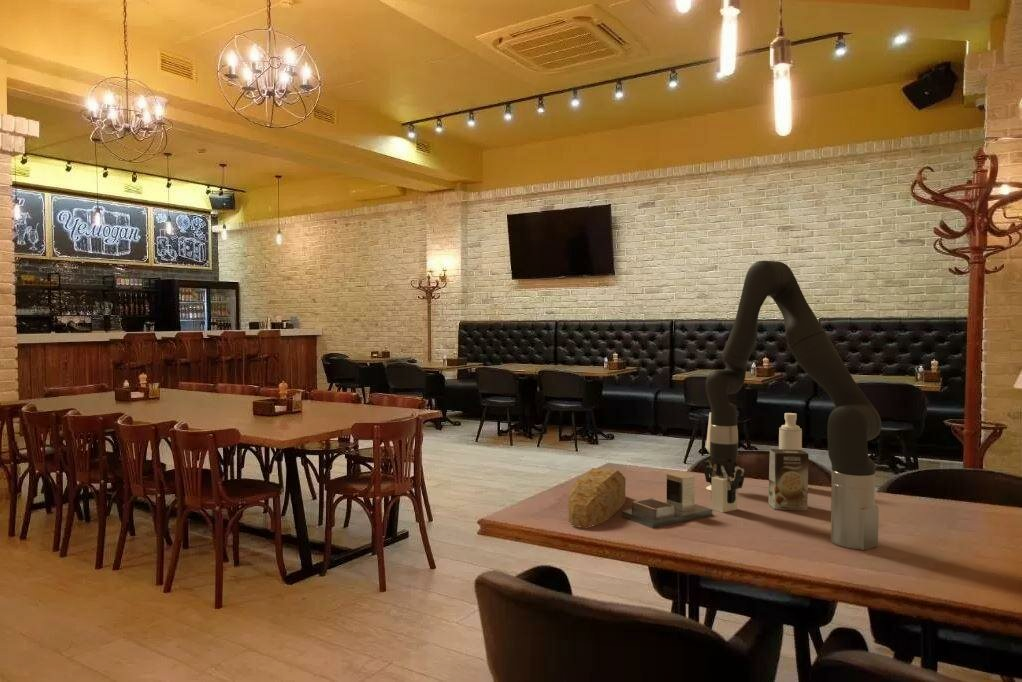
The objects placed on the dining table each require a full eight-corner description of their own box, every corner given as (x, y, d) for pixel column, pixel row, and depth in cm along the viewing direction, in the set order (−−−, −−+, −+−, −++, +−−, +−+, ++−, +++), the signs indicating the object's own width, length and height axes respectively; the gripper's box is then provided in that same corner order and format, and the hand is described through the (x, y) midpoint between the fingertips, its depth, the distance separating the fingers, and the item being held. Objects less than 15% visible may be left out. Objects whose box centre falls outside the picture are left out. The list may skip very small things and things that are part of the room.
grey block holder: (712, 514, 185) (712, 476, 185) (652, 527, 173) (652, 487, 173) (680, 504, 195) (680, 468, 195) (621, 516, 184) (621, 478, 183)
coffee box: (774, 509, 189) (774, 452, 189) (768, 503, 196) (768, 448, 195) (808, 510, 189) (809, 453, 188) (800, 504, 195) (801, 449, 194)
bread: (596, 493, 210) (596, 461, 209) (631, 496, 205) (631, 463, 205) (558, 525, 177) (558, 487, 176) (599, 530, 172) (599, 491, 172)
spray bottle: (806, 488, 213) (806, 409, 212) (787, 490, 211) (788, 410, 210) (791, 483, 219) (792, 407, 218) (774, 485, 217) (774, 407, 216)
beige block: (737, 509, 190) (737, 477, 190) (722, 512, 187) (722, 480, 187) (724, 505, 194) (724, 474, 194) (709, 508, 191) (709, 476, 191)
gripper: (753, 443, 186) (753, 504, 186) (713, 435, 198) (713, 493, 198) (735, 445, 182) (734, 508, 182) (695, 438, 194) (694, 497, 195)
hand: (723, 500), depth 190 cm, fingers closed on beige block, 4 cm apart
